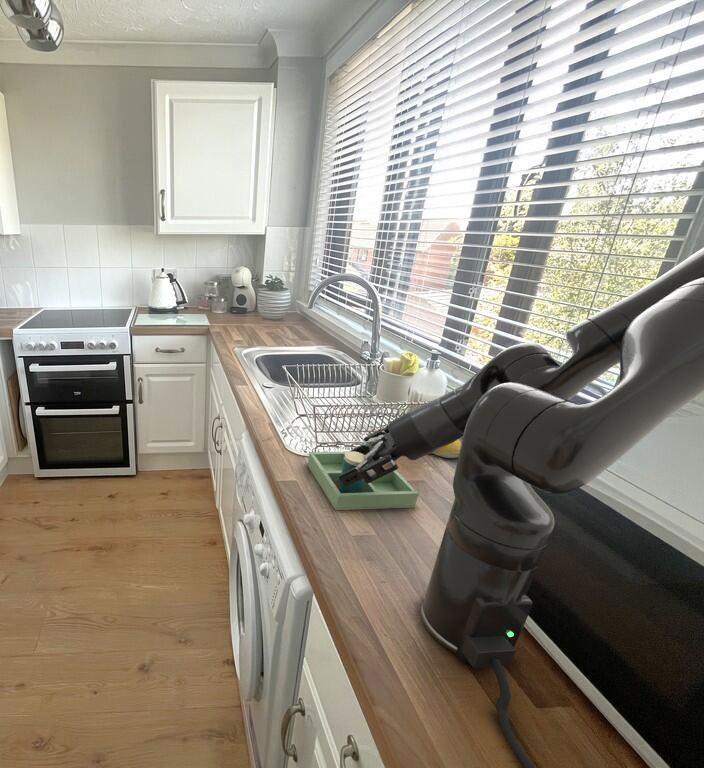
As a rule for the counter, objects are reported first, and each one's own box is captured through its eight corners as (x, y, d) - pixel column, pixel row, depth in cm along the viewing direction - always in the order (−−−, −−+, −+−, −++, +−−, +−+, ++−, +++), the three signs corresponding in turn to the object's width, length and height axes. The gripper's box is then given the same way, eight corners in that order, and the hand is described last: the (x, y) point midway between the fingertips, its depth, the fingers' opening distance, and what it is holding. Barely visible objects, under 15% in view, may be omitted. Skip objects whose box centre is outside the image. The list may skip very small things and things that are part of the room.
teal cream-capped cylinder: (364, 498, 78) (371, 462, 75) (343, 499, 78) (350, 462, 75) (354, 486, 82) (361, 450, 79) (335, 486, 82) (341, 451, 79)
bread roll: (428, 456, 95) (432, 441, 94) (419, 438, 103) (423, 424, 102) (468, 462, 93) (473, 447, 91) (456, 444, 101) (460, 429, 99)
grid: (415, 507, 77) (418, 493, 76) (335, 510, 76) (338, 495, 75) (374, 463, 92) (377, 450, 91) (307, 465, 90) (309, 452, 89)
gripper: (443, 466, 64) (352, 506, 73) (436, 429, 76) (359, 467, 85) (412, 428, 64) (326, 472, 73) (410, 397, 76) (336, 438, 85)
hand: (344, 469), depth 79 cm, fingers open, 8 cm apart
